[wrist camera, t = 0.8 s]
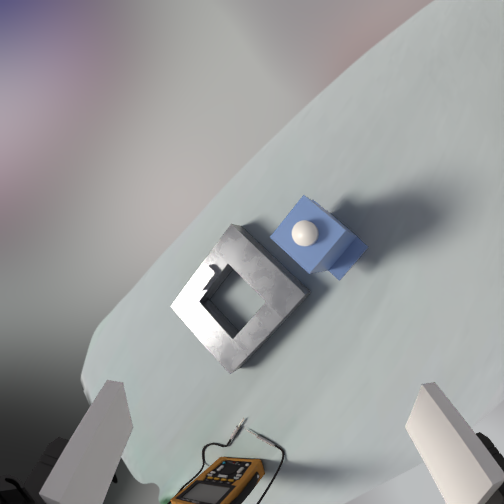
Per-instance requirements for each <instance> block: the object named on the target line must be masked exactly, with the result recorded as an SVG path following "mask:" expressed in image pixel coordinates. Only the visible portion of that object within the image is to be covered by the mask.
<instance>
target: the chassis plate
mask: <svg viewBox="0 0 504 504" xmlns="http://www.w3.org/2000/svg"><path fill="white" fill-rule="evenodd" d="M233 269H234V270H235V271H236V272H237V273H238V274H239V275H240V276H241V277H242V278H243V279H244V280H245V281H246V282H247V283H248V284H249V285H250V286H251V287H252V288H253V289H254V290H255V291H256V292H257V293H258V294H259V295H260V296H261V297H262V298H263V299H264V300H265V301H266V302H265V304H264V305H263V306H262V307H261V308H260V309H259V310H258V312H257V313H256V314H255V315H254V316H253V317H252V318H251V319H250V321H249V322H248V323H247V324H246V325H245V326H244V327H243V328H242V330H241V331H240V332H239V331H238V330H237V329H236V328H235V327H234V326H233V325H232V324H231V323H230V322H229V321H228V320H227V318H226V317H225V316H224V315H223V314H222V313H221V312H220V311H219V310H218V309H217V308H216V306H215V305H214V304H213V303H212V302H211V301H210V300H209V299H210V298H211V296H212V295H213V294H214V293H215V291H216V290H217V289H218V288H219V286H220V285H221V284H222V282H223V281H224V280H225V279H226V277H227V276H228V275H229V274H230V272H231V271H232V270H233ZM310 293H311V292H310V291H309V290H308V289H307V288H306V287H305V286H304V285H303V284H302V283H301V282H300V281H299V280H298V279H297V278H296V277H294V276H293V275H292V274H291V273H290V272H289V271H288V270H287V269H286V268H285V267H284V266H283V265H282V264H281V263H280V262H279V261H278V260H277V259H275V258H274V257H273V256H272V255H271V254H270V253H269V252H268V251H267V250H266V249H265V248H264V247H263V246H262V245H261V244H260V243H258V242H257V241H256V240H255V239H254V238H253V237H252V236H251V235H250V234H249V233H248V232H247V231H246V230H245V229H244V228H243V227H241V226H239V225H234V224H231V225H230V226H229V228H228V229H227V230H226V232H225V233H224V234H223V236H222V237H221V238H220V240H219V241H218V242H217V244H216V245H215V247H214V248H213V249H212V251H211V252H210V253H209V255H208V256H207V257H206V259H205V260H204V261H203V263H202V264H201V265H200V267H199V268H198V270H197V271H196V272H195V274H194V275H193V276H192V278H191V279H190V281H189V282H188V283H187V285H186V286H185V287H184V289H183V290H182V292H181V293H180V294H179V296H178V297H177V299H176V300H175V301H174V303H173V304H172V306H171V307H172V308H173V309H174V311H175V312H176V313H177V314H178V315H179V317H180V318H181V319H182V320H183V321H184V323H185V324H186V325H187V326H188V327H189V328H190V330H191V331H192V332H193V333H194V334H195V335H196V337H197V338H198V339H199V340H200V341H201V342H202V343H203V345H204V346H205V347H206V348H207V349H208V350H209V351H210V352H211V354H212V355H213V356H214V357H215V358H216V359H217V360H218V361H219V362H220V364H221V365H222V366H223V367H224V368H225V369H226V370H227V371H228V372H229V373H230V374H231V373H233V372H234V371H236V370H238V369H239V368H240V367H241V366H242V365H243V364H244V363H245V362H246V361H247V360H248V359H249V358H250V357H251V356H252V355H253V354H254V353H255V352H256V351H257V350H258V349H259V348H260V347H261V346H262V345H263V344H264V343H265V342H266V341H267V339H268V338H269V337H270V336H271V335H272V334H273V333H274V332H275V331H276V330H277V329H278V328H279V327H280V326H281V325H282V324H283V322H284V321H285V320H286V319H287V318H288V317H289V316H290V315H291V314H292V313H293V312H294V311H295V309H296V308H297V307H298V306H299V305H300V304H301V303H302V302H303V301H304V299H305V298H306V297H307V296H308V295H309V294H310Z"/></svg>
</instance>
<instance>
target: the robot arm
mask: <svg viewBox="0 0 504 504" xmlns="http://www.w3.org/2000/svg"><path fill="white" fill-rule="evenodd" d="M405 428H406V430H407V432H408V433H409V435H410V437H411V439H412V441H413V442H414V444H415V446H416V448H417V450H418V451H419V453H420V455H421V457H422V459H423V461H424V462H425V464H426V466H427V468H428V470H429V472H430V473H431V475H432V477H433V479H434V481H435V483H436V485H437V487H438V489H439V491H440V493H441V494H442V496H443V498H444V500H445V502H446V504H504V458H503V456H502V455H501V454H500V453H499V451H498V450H497V448H496V447H494V444H493V443H492V442H491V440H490V439H489V438H488V437H486V436H485V435H483V434H482V433H480V432H479V433H476V434H475V433H474V431H473V430H472V429H471V427H470V426H469V425H468V423H467V422H466V421H465V420H464V418H463V417H462V416H461V414H460V413H459V412H458V411H457V409H456V408H455V407H454V406H453V404H452V403H451V402H450V400H449V399H448V398H447V397H446V396H445V394H444V393H443V392H442V391H441V389H440V388H439V387H438V386H437V384H436V383H435V382H433V383H427V384H422V385H421V388H420V390H419V393H418V396H417V399H416V401H415V404H414V406H413V409H412V411H411V414H410V416H409V419H408V421H407V424H406V426H405ZM132 429H133V424H132V420H131V416H130V412H129V408H128V403H127V399H126V394H125V389H124V384H123V383H122V382H116V381H111V380H107V381H106V383H105V384H104V386H103V387H102V389H101V390H100V392H99V394H98V395H97V397H96V398H95V400H94V401H93V403H92V405H91V406H90V408H89V409H88V411H87V413H86V414H85V416H84V417H83V419H82V421H81V422H80V424H79V426H78V427H77V429H76V431H75V432H74V434H73V435H72V437H71V439H70V440H66V439H63V438H60V437H58V438H57V439H55V440H54V441H53V442H51V443H50V444H49V445H48V447H47V448H46V450H45V451H44V454H43V455H42V456H41V457H40V459H39V462H37V464H36V465H35V467H34V469H33V470H32V472H31V474H30V475H29V477H28V478H27V480H26V481H25V483H24V485H23V483H22V482H21V481H20V480H19V479H18V478H16V477H14V476H11V475H3V476H1V477H0V504H102V503H103V501H104V498H105V496H106V493H107V491H108V488H109V485H110V483H111V481H112V478H113V476H114V473H115V470H116V468H117V466H118V463H119V460H120V458H121V456H122V453H123V451H124V449H125V446H126V444H127V441H128V439H129V437H130V434H131V432H132Z"/></svg>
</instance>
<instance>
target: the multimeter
mask: <svg viewBox="0 0 504 504" xmlns="http://www.w3.org/2000/svg"><path fill="white" fill-rule="evenodd" d="M243 420H244V418H243V419H242V421H241V422H240V424H239V426H236V429H235V430H234V432H233V434H232V435H231V438H230V440H229V442H228V443H227V445H225V446H223V445H220V444H216V443H210V444H207V445H206V446H204V448H203V450H202V459H203V465H202V468H201V470H200V471H199V472H198V473H197V474H196V475H195V476H194V477H193V478H192V479H191V480H190V481H189V482H187V483H186V484H185V485H184V486H183V487H182V488H181V489H180V490H179V492H178V493H177V494H176V495H175V496H174V497H173V498H172V499H171V500H170V502H169V503H168V504H170V503H172V504H241V503H242V502H243V501H244V500H245V499H246V498H247V496H248V495H249V494H250V493H251V491H252V490H253V489H254V487H255V486H256V485H257V483H258V482H259V481H260V479H261V478H262V477H263V475H264V474H265V472H264V468H263V465H262V461H261V460H260V459H239V458H228V457H220V458H219V459H218V460H216V461H215V462H214V463H213V464H212V465H211V466H210V467H209V468H207V469H206V470H205V471H204V472H203V473H202V474H200V475H199V473H200V472H201V471H202V469H203V467H204V449H205V447H207V446H209V445H218V446H221V447H227V446H228V445H229V443H230V442H231V440H232V439H233V438H234V437H235V435H236V433H237V432H238V430H239V429H240V425H241V423H242V422H243ZM247 431H248V432H250V433H252V432H251V431H249V430H247ZM252 434H253V435H255V436H257V438H258V439H260V440H262V441H264V442H266V443H267V444H269V445H272V446H275V447H277V448H278V449H280V450H281V451H282V460H281V463H280V465H279V468H278V470H277V471H276V473H275V475H274V477H273V479H272V480H271V482H270V484H269V485H268V487H267V489H266V490H265V492H264V493H263V495H262V496H261V498H260V500H259V501H258V502H257V504H259V503H260V502H261V500H262V499H263V497H264V496H265V494H266V492H267V491H268V489H269V488H270V486H271V484H272V482H273V481H274V479H275V477H276V475H277V473H278V471H279V470H280V467H281V465H282V463H283V460H284V451H283V449H282V448H280V447H278V446H277V445H275V444H274V443H272V442H271V441H269V440H267V439H265V438H263V437H262V436H260V435H256V434H254V433H252ZM198 475H199V476H198ZM197 476H198V477H197ZM196 477H197V478H196ZM194 478H196V479H195V480H193V479H194ZM192 480H193V481H192ZM191 481H192V482H191ZM190 482H191V483H190ZM189 483H190V484H189ZM187 484H189V485H188V486H186V485H187ZM185 486H186V487H185ZM184 487H185V488H184ZM183 488H184V489H183ZM182 489H183V490H182Z"/></svg>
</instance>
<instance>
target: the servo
mask: <svg viewBox="0 0 504 504" xmlns="http://www.w3.org/2000/svg"><path fill="white" fill-rule="evenodd" d="M270 238H271V239H272V240H273V241H274V242H275V243H276V244H278V245H279V246H280V247H281V248H282V249H283V250H284V251H285V252H286V253H287V254H288V255H289V256H291V257H292V258H293V259H294V260H295V261H296V262H297V263H298V264H299V265H300V266H301V267H302V268H303V269H304V270H306V271H307V272H308V273H309V274H311V273H317V272H322V271H330V272H331V273H332V274H333V275H334V276H335V277H336V278H337V279H338V280H341V279H342V278H343V276H344V275H345V274H346V273H347V272H348V271H349V269H350V268H351V267H352V266H353V265H354V264H355V262H356V261H357V260H358V259H359V258H360V257H361V255H362V254H363V253H364V252H365V251H366V249H367V248H368V246H367V245H366V244H364V243H363V242H362V241H361V240H360V238H358V237H357V236H356V235H355V234H354V233H353V232H352V231H350V230H349V229H348V228H347V227H346V226H345V225H344V224H342V223H341V222H340V221H339V220H338V219H336V218H335V217H334V216H333V215H332V214H331V213H329V212H328V211H326V210H325V209H324V208H323V207H321V206H320V205H319V204H318V203H317V202H315V201H314V200H310V199H309V198H307V197H306V196H304V195H303V196H302V198H301V199H300V200H299V201H298V203H297V204H296V205H295V206H294V208H293V209H292V210H291V211H290V213H289V214H288V215H287V216H286V218H285V219H284V220H283V221H282V223H281V224H280V225H279V226H278V228H277V229H276V230H275V231H274V233H273V234H272V235H271V236H270Z"/></svg>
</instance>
